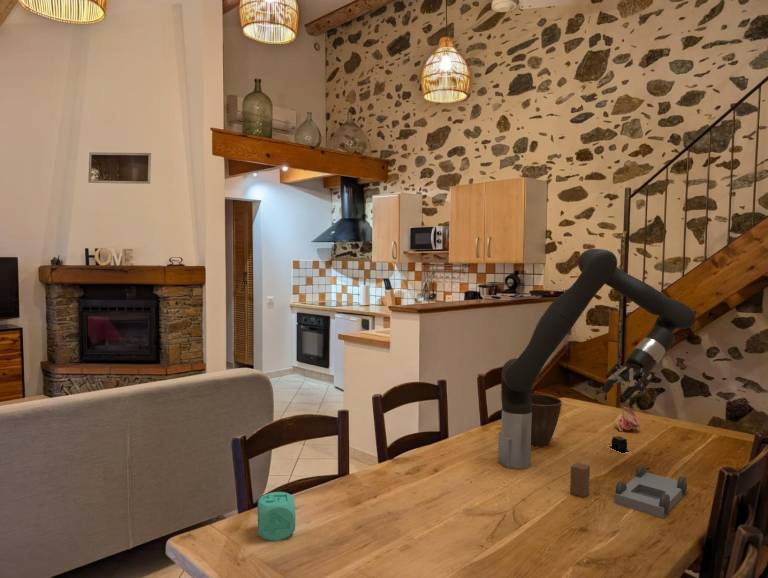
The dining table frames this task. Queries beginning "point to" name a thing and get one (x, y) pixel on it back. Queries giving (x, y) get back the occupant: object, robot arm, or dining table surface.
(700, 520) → the dining table surface
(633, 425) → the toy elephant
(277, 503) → the decorative dice
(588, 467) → the wooden block
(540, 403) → the plant pot
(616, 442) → the black block
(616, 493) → the chassis
